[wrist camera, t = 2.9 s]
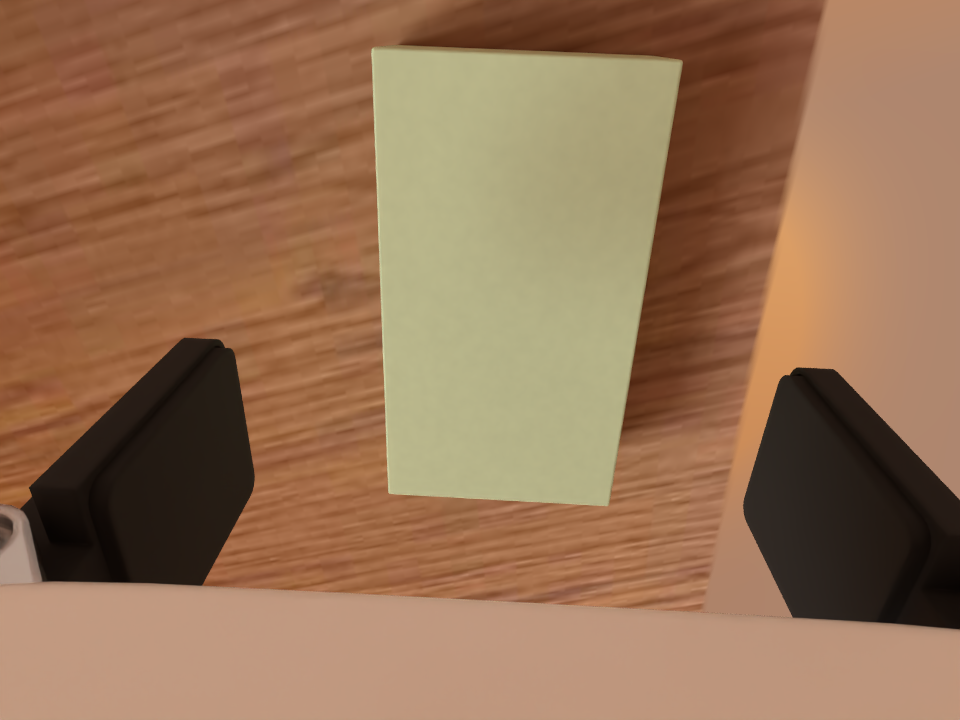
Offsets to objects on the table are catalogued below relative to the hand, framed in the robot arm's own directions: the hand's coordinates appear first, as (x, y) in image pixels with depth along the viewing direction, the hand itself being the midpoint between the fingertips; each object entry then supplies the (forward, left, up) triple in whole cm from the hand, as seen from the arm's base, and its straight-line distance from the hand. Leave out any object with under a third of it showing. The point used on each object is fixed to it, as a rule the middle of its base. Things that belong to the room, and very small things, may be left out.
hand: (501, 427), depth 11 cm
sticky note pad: (0, 0, -9) cm, 9 cm away
